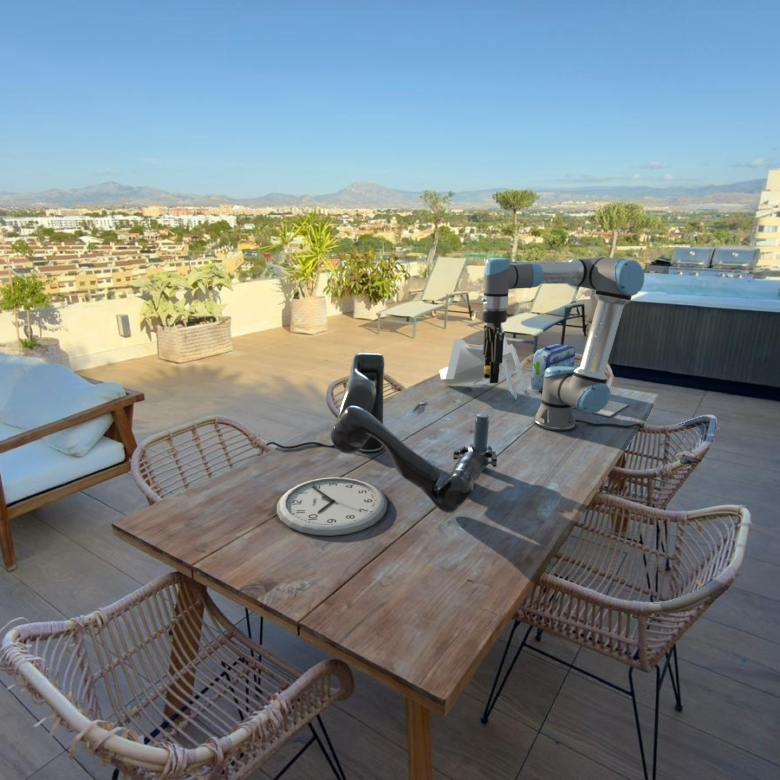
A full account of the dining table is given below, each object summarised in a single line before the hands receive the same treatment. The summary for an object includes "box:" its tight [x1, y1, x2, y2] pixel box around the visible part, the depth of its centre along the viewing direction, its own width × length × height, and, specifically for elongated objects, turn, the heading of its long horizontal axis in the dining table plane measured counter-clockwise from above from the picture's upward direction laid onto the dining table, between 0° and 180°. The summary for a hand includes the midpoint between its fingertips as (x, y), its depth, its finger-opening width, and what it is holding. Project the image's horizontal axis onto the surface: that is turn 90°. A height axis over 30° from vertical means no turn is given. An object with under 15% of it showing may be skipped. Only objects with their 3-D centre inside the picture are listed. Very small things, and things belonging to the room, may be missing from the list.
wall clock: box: [276, 476, 388, 537], centre depth 142 cm, size 30×2×30 cm
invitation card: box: [595, 399, 629, 418], centre depth 226 cm, size 21×1×15 cm
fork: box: [413, 396, 428, 412], centre depth 222 cm, size 3×16×2 cm, turn 160°
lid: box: [483, 365, 501, 375], centre depth 169 cm, size 5×5×2 cm
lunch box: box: [530, 343, 576, 392], centre depth 248 cm, size 26×11×21 cm, turn 134°
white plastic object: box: [438, 323, 531, 400], centre depth 245 cm, size 37×45×31 cm
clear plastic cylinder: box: [473, 413, 490, 471], centre depth 164 cm, size 4×4×18 cm
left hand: (481, 447), depth 167 cm, fingers closed on clear plastic cylinder, 4 cm apart
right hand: (491, 380), depth 171 cm, fingers closed on lid, 5 cm apart
